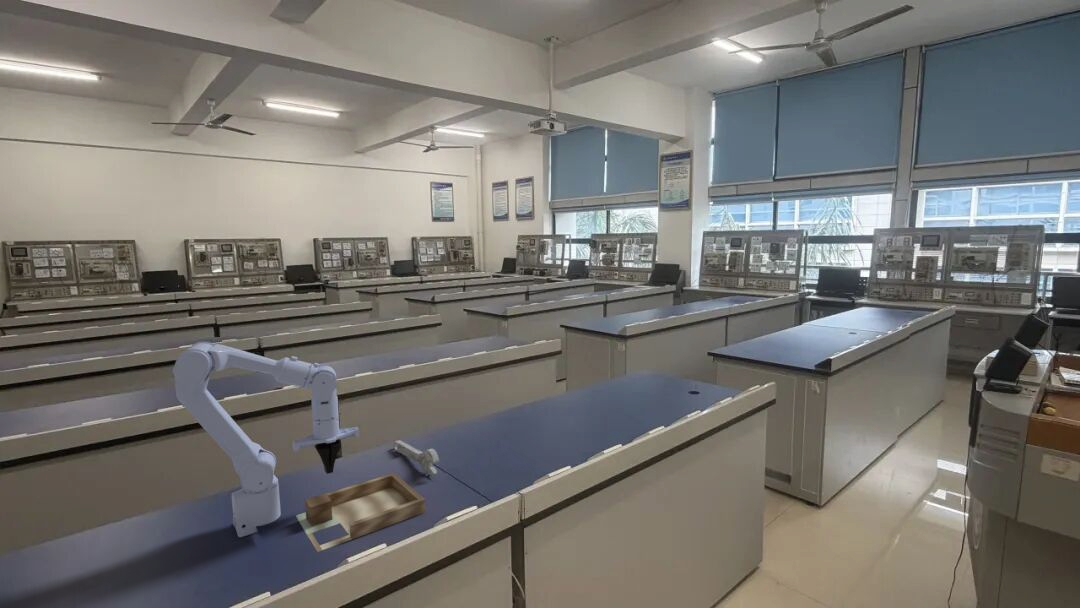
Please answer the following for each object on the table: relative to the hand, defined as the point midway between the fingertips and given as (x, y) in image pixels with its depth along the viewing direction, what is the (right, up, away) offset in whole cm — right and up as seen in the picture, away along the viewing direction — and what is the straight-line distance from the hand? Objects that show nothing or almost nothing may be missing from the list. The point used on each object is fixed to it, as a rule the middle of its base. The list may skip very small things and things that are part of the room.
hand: (329, 471), depth 120 cm
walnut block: (0, -9, -6) cm, 11 cm away
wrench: (+14, -7, +25) cm, 30 cm away
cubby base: (+9, -10, -3) cm, 14 cm away
